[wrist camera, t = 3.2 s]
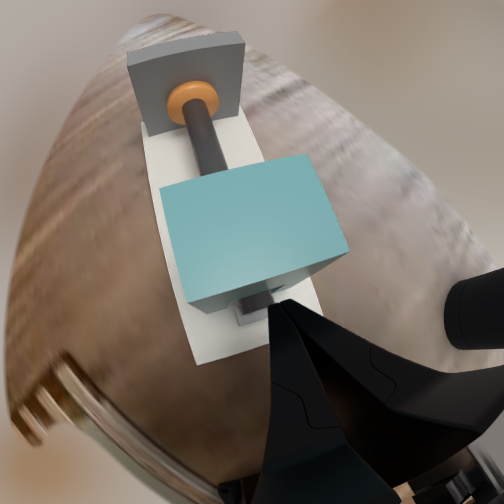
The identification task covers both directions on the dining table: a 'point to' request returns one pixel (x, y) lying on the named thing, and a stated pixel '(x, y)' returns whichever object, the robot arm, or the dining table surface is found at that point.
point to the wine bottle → (476, 312)
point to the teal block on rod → (250, 230)
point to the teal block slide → (202, 166)
